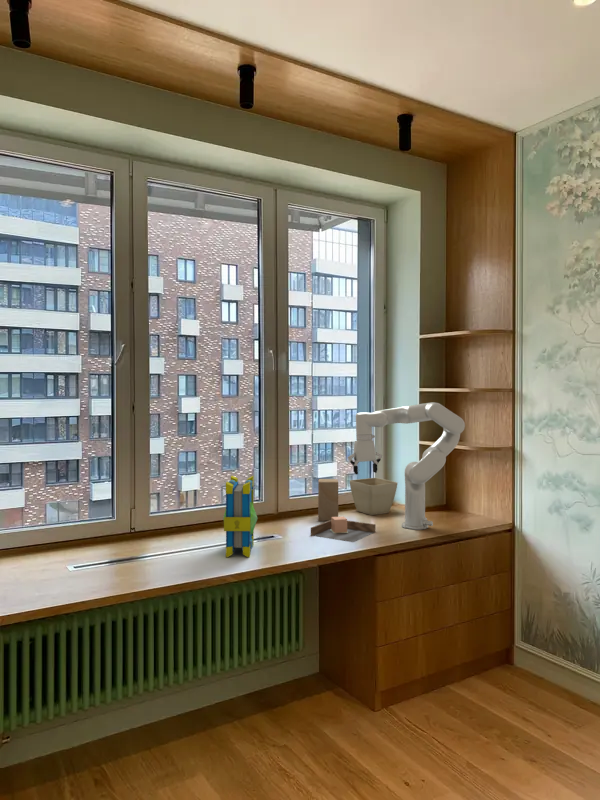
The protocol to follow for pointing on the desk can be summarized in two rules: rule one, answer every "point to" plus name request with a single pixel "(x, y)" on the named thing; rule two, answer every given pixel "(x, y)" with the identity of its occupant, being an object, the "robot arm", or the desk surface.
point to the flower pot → (373, 495)
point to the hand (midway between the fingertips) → (365, 473)
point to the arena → (352, 535)
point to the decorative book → (239, 516)
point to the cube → (338, 524)
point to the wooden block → (327, 499)
